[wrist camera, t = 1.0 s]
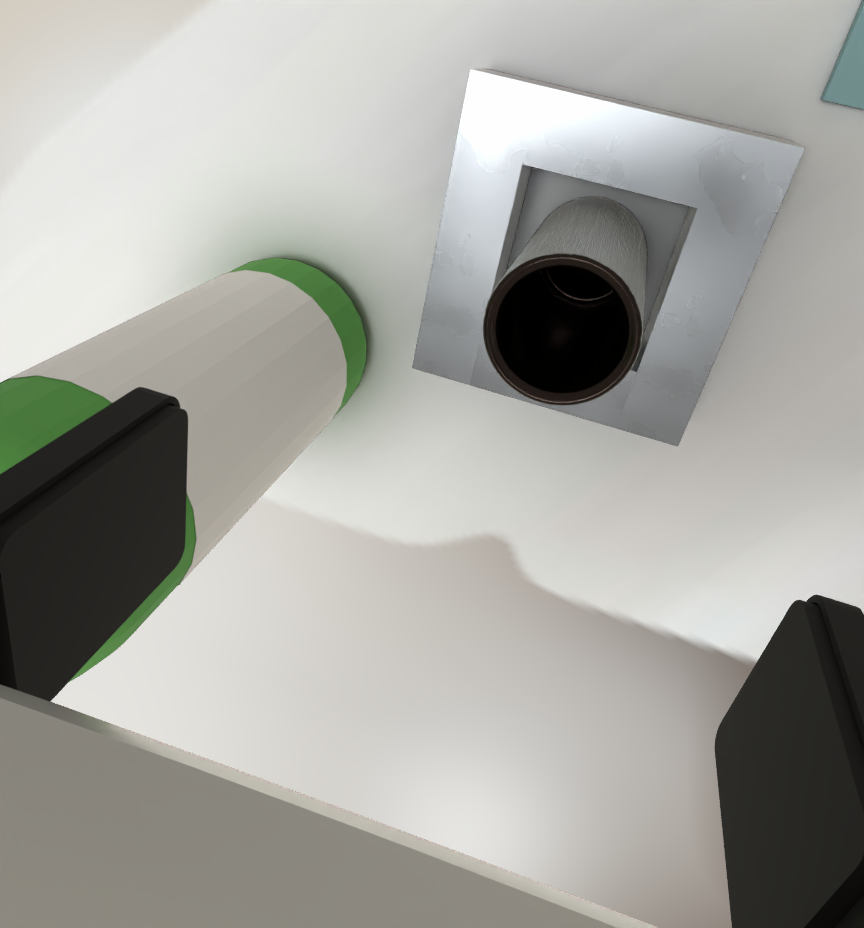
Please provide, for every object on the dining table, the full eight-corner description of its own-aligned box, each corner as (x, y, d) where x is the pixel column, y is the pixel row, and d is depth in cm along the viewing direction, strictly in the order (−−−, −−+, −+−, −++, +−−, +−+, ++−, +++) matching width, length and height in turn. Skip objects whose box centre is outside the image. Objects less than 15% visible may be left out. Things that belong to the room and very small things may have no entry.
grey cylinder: (564, 175, 28) (522, 224, 20) (670, 226, 28) (675, 298, 20) (514, 280, 31) (458, 365, 22) (612, 328, 31) (593, 432, 22)
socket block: (790, 140, 26) (805, 148, 23) (676, 415, 32) (678, 446, 29) (487, 68, 27) (470, 69, 25) (430, 344, 33) (412, 367, 31)
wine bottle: (401, 306, 33) (-495, 1149, 7) (339, 437, 37) (-373, 1270, 11) (250, 218, 33) (-1184, 760, 7) (204, 360, 37) (-811, 1021, 11)
